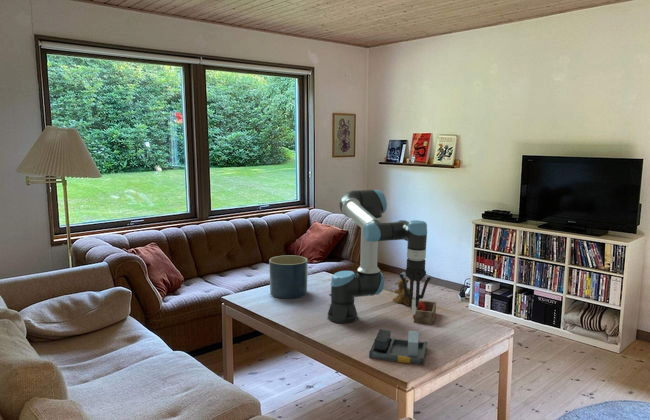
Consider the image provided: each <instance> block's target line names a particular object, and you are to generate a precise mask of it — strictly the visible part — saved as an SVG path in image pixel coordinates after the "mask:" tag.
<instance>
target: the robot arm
mask: <svg viewBox="0 0 650 420" xmlns="http://www.w3.org/2000/svg"><path fill="white" fill-rule="evenodd" d="M338 205H339V210H340V212H341V213H342V214H343V215H344V216H345V217H346V218H350V219H351V220H352V221H353V222H354V223H355V224H356V225H357V226H358V227H360V256H359V257H360V260H359V262H360V263H359V264H360V265H359V267H358V268H357V269H356V273H355V271H353V270H340V271H337V272H335V273H334V274H332V276H331V283H330V286H331V288H330V292H331V293H330V294H331V296H330V299H331V301H330V305H329V308H328V311H327V320H329V321H330V322H333V323H337V324H349V323H354V322H356V321H357V320H358V310H357V308H356V304H355V298H359V297H360V298H361V297H368V296H372V297H373V296H377V295H380V294H381V293H382V292H383V290H384V286H385V278H384V274H383V272H381V269H380V268H379V267H378V252H379V251H378V250H379V249H378V248H379V247H378V245H379V242H387V241H400V240H401V241H403V240H404V241H406V242H407V247H406V248H407V249H406V250H407V251H406V266H405V267H406V268H405V270H404V271H403V272H401V273H400V274H399V278H400V279H402V283H403V288H404V293H405V296H406V297H408V298H409V305H408V306H409V307H411V313H410V315H411V316H413V315H415V313H416V307H418V306H419V300H421V299H422V300H423V299H424V296H425V293H426V290H427V287H428V284H429V282H430V281H431V279H432V276H431V275H429V274H428V273H427V271H426V257H427V240H428V239H427V238H428V224H427V222H426V221H424V220H423V221H422V220H415V219H414V220H409V221H407V220H406V219H405V220H403V219H399V220H396V221H395V222H393V221H392V222H381V219H382V217H383V215H382V214H384V213H386V211H387V209H388V208H387V206H388V204H387V198H386V196H385V194H384V193H383V191H381V190H379V189H362V190H361V189H360V190H358V189H357V190H355V189H354V190H350V191H347V192H345V193H344V194H343V195H342V196H341V197H340V200H339V203H338ZM406 277H407V278H408V280H409V287H408V283H406V280H407V279H406ZM423 278H424V283H423V286H422V290H421V291H420V289H421V281H422V280H423ZM414 282H415V283H416V285H415V296H414ZM408 288H409V289H410V294H409V292H408ZM420 292H421V293H420Z"/></svg>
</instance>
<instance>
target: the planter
mask: <svg viewBox="0 0 650 420" xmlns="http://www.w3.org/2000/svg"><path fill="white" fill-rule="evenodd" d="M268 263H269V264H268V265H269V266H268V268H269V270H268V272H269V289H270V290H269V291H270V292H269V293H270V295H271V296H272V297H273V298H277V299H280V300H281V299H282V300H294V299H299V298H302V297H305V296H306V295H307V293H308V291H307V290H308V269H309V267H308V265H309V264H308V263H309V261H308V258H307V257H304V256H302V255H292V254H291V255H289V254H288V255H287V254H286V255H285V254H284V255H279V256H278V255H277V256H273V257H270V259H269V261H268Z"/></svg>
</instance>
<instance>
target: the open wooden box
mask: <svg viewBox="0 0 650 420" xmlns="http://www.w3.org/2000/svg"><path fill="white" fill-rule="evenodd" d="M419 302H422V303H424V305H425V311H420V309H421V307H420V306H419V307H416V313H415V315H414V318H413V323H416V324H417V323H419V324H427V325H434V323H435V318H436V317H435V314H436V312H437V311H436V310H437V302H436V301H428V300H421V299H419ZM436 315H437V314H436Z"/></svg>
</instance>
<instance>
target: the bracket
mask: <svg viewBox="0 0 650 420" xmlns="http://www.w3.org/2000/svg"><path fill="white" fill-rule="evenodd" d="M419 306H420V307H421V309H420V311H425V305H424V303H422V302H419ZM419 306H418V307H419ZM435 318H437V314H435ZM412 319H414V315H412Z"/></svg>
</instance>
